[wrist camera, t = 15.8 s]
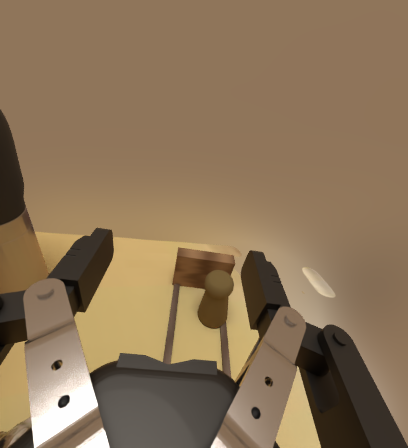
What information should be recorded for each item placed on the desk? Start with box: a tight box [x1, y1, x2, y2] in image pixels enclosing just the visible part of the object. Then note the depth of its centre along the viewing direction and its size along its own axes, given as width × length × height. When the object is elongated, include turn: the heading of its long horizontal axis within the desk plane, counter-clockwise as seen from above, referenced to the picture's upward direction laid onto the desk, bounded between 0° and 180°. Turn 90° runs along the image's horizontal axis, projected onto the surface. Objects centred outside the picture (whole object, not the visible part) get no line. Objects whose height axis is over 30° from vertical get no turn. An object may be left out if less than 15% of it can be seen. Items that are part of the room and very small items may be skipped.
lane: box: [163, 247, 235, 377], centre depth 36 cm, size 12×26×9 cm, turn 0°
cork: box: [198, 270, 234, 328], centre depth 39 cm, size 6×6×11 cm
